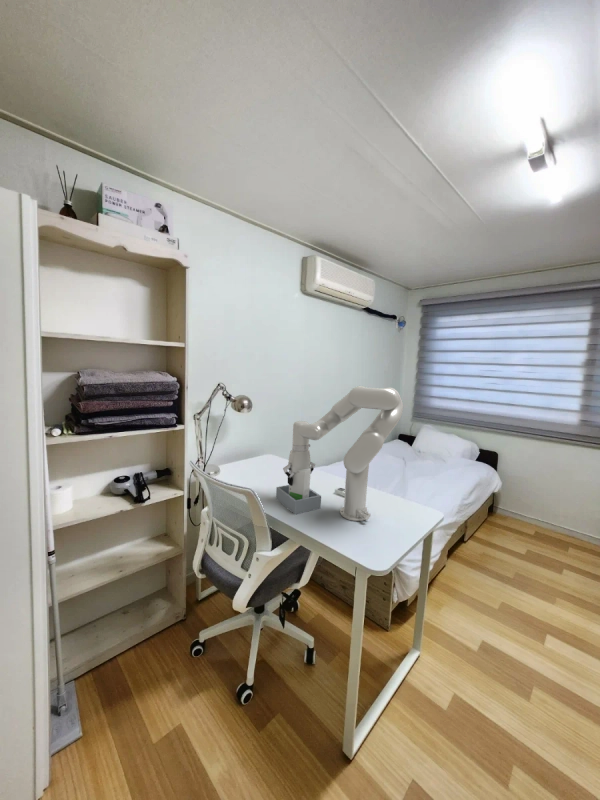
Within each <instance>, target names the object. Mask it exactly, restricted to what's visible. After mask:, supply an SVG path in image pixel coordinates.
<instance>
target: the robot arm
mask: <svg viewBox="0 0 600 800" xmlns="http://www.w3.org/2000/svg"><path fill="white" fill-rule="evenodd" d="M361 409H370V410H380V411H379V413H378V414H377V416H376V417H375V418H374V419H373V421H372V422H371V424H370V425H369V426H368V427H367V428H366V429H365V430H364V431H363V432H362V433H361V435H360V436H359V437H358V438H357V439H356V441H355V442H354V443H353V445H352V446H351V447H350V448H349V449H348V450H347V452H346V453H345V455H344V456H343V466H344V468H345V469H346V472H345V481H344V483H345V487H344V499H343V500H344V501H343V502H344V503H343V507H341V508H340V509H339V510H340V511H339V514H340V516H342V518H344V519H346V520H349V521H353V522H363V521H368V520H369V519H370V517H371V513H369V511H368V507H367V505H366V504H367V494H368V492H367V491H368V479H369V468H370V463H371V462H372V461H373V460H374V459H375V457H376V456H377V455H378V453H380V452H381V449H382V448H383V446H384V443H385V441H386V439H387V438H388V436H389V435H390V434H392V431H393V430H394V428H395V427H396V426H397V424H398V423H399V421H400V420H401V418H402V415H403V409H404V404H403V400H402V398H401V395H400V393H399V391H398V390H396V389H395V388H394V387H385V388H380V387H379V388H377V387H367V386H363V385H359V386H354V387H353V388H351V390H350V391H349V392H348V393H347V394H346V395H345V396H343V397H342V398H341V399H340V400H338V401H337V402H336V403H335V404H334V405H332V407H331V408H330V410H329V411H328V412H327V413H326V414H325V415H323V416H321V418H319V419H318V420H317V421H315V422H314V423H309V422H307V421H302V420H299V421H298V420H296V421H294V423H293V424H292V425H293V426H292V427H293V428H292V446H291V448H292V449H291V450H290V453H289V456H288V464H286V466H283V468H282V470H283V472H284V474H285V475H286V476H287V485H290V486H292V485H293V477H292V476H293V474H294V473H297V471H298V470H301V469H309V468H310V469H311V473H310V475H311V474H312V473H313V471H314V468H315V467H316V463H314V462H312V461H311V453H310V450H309V448H311V444H309V442H310V440H311V441H319V440H321V439H322V438H323V437H325V436H326V435H327V434H329V433H330V432H331V431H332V430H334V429H335V428H336V427H337V426H338V425H340V424H342V423H344V422H345V421H347V420H348V419H349V418H350V417H353V416H354V414H355V413H357V412H358V411H359V410H361ZM290 468H291V469H292V470H291V469H290Z"/></svg>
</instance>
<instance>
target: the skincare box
mask: <svg viewBox="0 0 600 800" xmlns="http://www.w3.org/2000/svg"><path fill="white" fill-rule="evenodd" d="M290 469H291V468H290ZM291 470H292V469H291ZM310 473H311V469H310V468H309V469H301V470H298V471H297V473H294V474H293V476H292V477H293V485H292V486H290V485H289V484H288V485H289V495H290V496H291V497H292V498H294V499H295V500H300V499H304V498H309V488H310V485H311V474H312V473H311V474H310ZM310 489H311V488H310Z"/></svg>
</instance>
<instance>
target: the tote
mask: <svg viewBox="0 0 600 800" xmlns="http://www.w3.org/2000/svg"><path fill="white" fill-rule="evenodd" d="M275 489H276V490H275V492H276V493H275V500H277V501H278V503H280V504H281V503H282V504H281V505H283V507H285V508H286V509H287V508H288V509H287V510H288V511H289V512H290V513H292V512H293V513H294V514H293V513H292V514H293V515H299V514H303V513H306V512H309V511H315V510H318V509H321V507H322V495H321V494H319V493H317V492H316V491H315V490H314V489H312V488H309V498H304V499H300V500H295V499H294V498H292V497H291V496H290V495H289V484H286V485H281V486H276V488H275ZM298 513H299V514H298Z"/></svg>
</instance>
